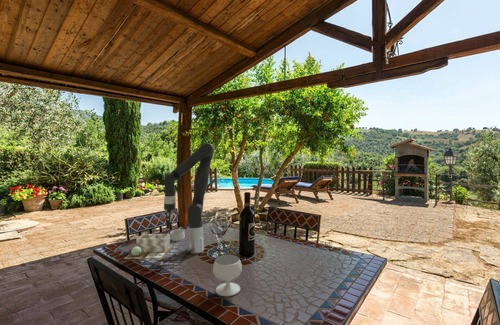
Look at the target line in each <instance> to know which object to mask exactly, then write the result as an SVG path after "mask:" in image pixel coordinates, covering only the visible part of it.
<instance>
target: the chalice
mask: <svg viewBox="0 0 500 325" xmlns="http://www.w3.org/2000/svg"><path fill="white" fill-rule="evenodd" d="M242 270H243V266H242V261H241V260H240V258H239V256H237V255H235V254H234V255H233V254H225V255H220V256H218V257H217V258H216V259H215V260H214V262H213V267H212V272H213V275H214V276H215V277H216V278H217V279H219V280H223V281H224V283H221V284H219V285H217V287H216V288H215V293H216V294H217V295H218V296H222V297H232V296H235V295H237V294H239V293H240V292H241V287H240V285H239V284H237V283H235V282H231V281H232V280H234V279H236V278H237V277H239V276H240V275H241V273H242Z"/></svg>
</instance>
